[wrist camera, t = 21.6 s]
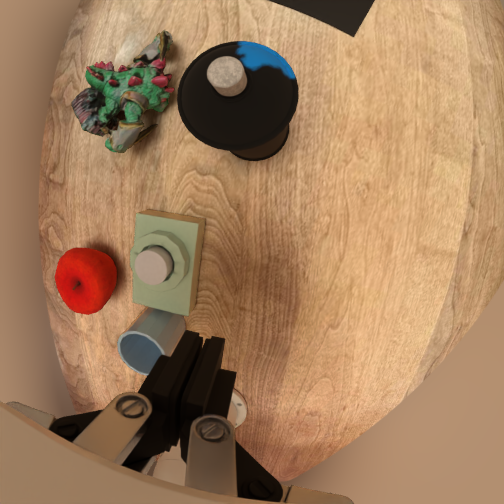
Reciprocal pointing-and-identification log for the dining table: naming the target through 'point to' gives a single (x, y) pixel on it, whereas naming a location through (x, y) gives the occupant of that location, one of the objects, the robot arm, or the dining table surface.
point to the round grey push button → (153, 265)
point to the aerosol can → (239, 99)
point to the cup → (150, 338)
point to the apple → (85, 279)
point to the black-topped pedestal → (333, 11)
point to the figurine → (125, 95)
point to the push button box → (181, 251)
